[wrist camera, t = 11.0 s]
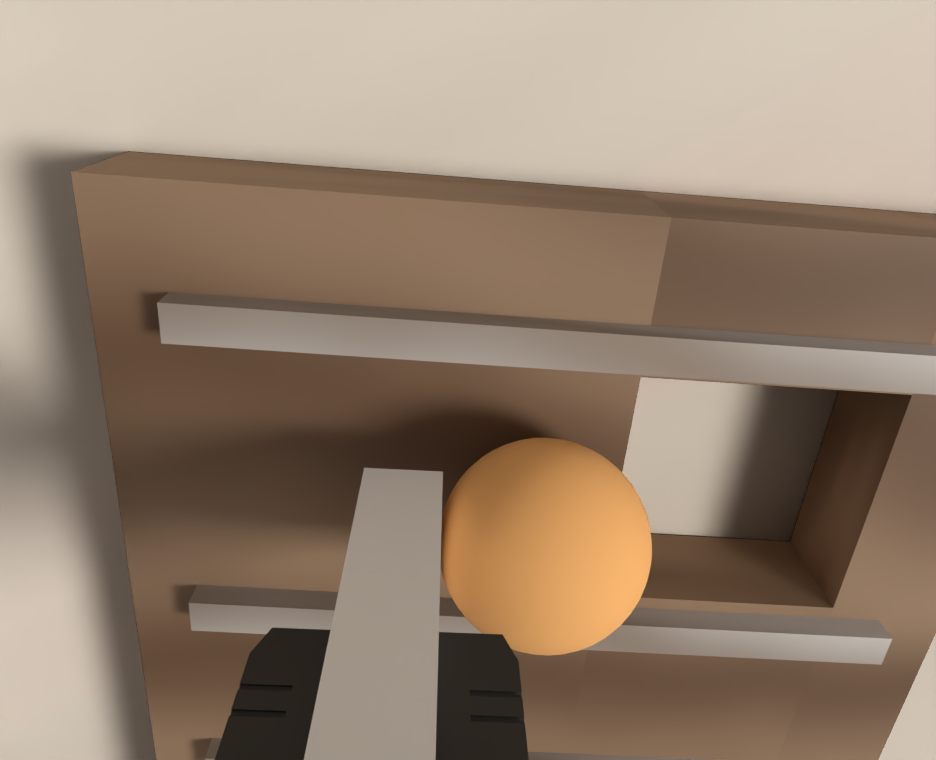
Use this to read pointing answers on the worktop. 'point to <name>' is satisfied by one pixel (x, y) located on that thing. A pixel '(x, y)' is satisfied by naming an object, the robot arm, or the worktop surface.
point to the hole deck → (512, 427)
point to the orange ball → (545, 546)
